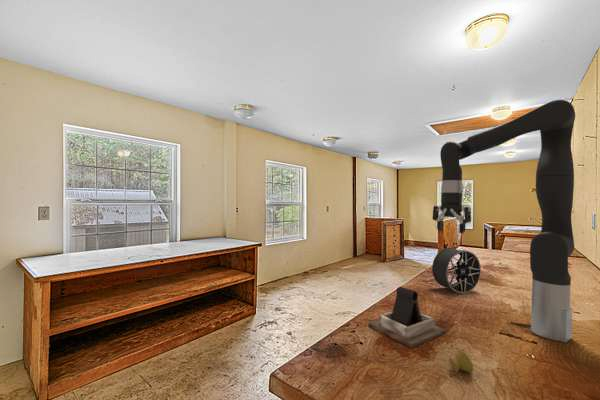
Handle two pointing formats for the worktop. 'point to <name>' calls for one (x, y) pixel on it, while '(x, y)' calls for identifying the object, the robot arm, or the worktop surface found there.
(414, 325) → the collar stand
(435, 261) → the wheel rim
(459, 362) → the knob
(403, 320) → the phone stand
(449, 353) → the worktop surface
